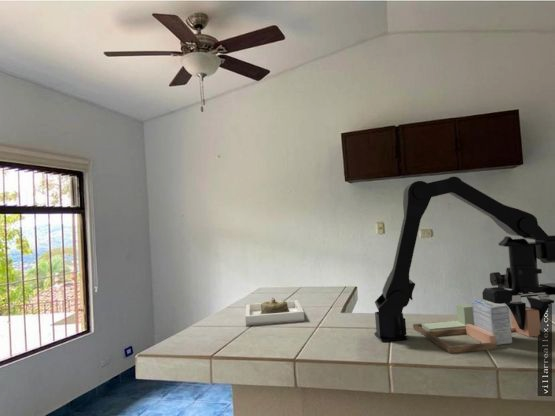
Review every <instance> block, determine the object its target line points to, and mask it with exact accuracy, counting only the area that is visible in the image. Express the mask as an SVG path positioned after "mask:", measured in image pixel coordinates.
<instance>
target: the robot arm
mask: <svg viewBox="0 0 555 416" xmlns="http://www.w3.org/2000/svg"><path fill="white" fill-rule="evenodd" d="M447 194H449V195H451V196H453V197H455V198H457V199H458V200H460V201H461V202H463V203H465V204H467V205H469V206H470V207H471V208H474V209H475V210H477V211H479V212H481V213H482V214H484V215H486V216H487V217H489V218H490V219H492V220H493V222H494V223H495V224H496V225H497V226H498V227H499V228H501V230H503V231H504V232H505V233H506V234H508V235H511V236H515V237H521V238H512V237H511V236H507V235H506V236H504V238H503V239H502V240H501V241H500V242H498V246H500V247H505V248H506V247H508V248H507V249H508V260H509V267H506V269H505V272H506V273H504V274H501V273H500V272H499V271H497V272H490V273H489V281H490V285H491V286H493V287H484V289H483V290H482V292H481V294H482V300H487V301H490V302H493V303H496V304H504V305H507V306H508V307H509V311H510V313H511V312H512V314H513V316H514V318H515V320H516V322H517V324H518V326H519V328H520V329H521V330H524V327H525V309H526V307H527V306H526V305H527V304H526V302H523V301H522V298H526V300H527V301H528V304H529V305H530V308H533V309H536V310H539V318H540V323H541V322H542V320H543V318H544V316H545V315H546V313H547V311H548V309H549V308H550V306H548V304H551V305H552V304H554V303H555V300H554V299H551V298H550V297H551V296H555V283H553V282H552V283H540V280H539V274H542V272H543V270H542V268H538V260H539V261H540V262H542V264H553V263H555V234H548V233H546V231H544V230H543V229H542V227H541V226H540V225H539V222H538V217H536V216H535V215H534V214H533V213H529V211H524V210H521V209H519V208H515V207H512V206H509V205H506V204H504V203H501V202H500V201H498V200H496V199H494V198H493V197H491V196H489V195H487V193H484V192H483V191H480V190H479V189H477V188H475V187H474V186H472V185H470V184H468V183H467V182H464V181H463V179H461V178H460V177H459V176H458V177H457V176H450V177H447V178H445V179H440V180H435V181H432V182H426V181H423V180H416V181H414V182H411V183H409V184H407V186H406V187H405V188H404V190H403V198H402V199H403V201H402V204H403V205H402V206H403V219H402V224H401V229H400V233H399V238H398V242H397V247H396V252H395V256H394V261H393V265H392V266H393V267H392V268H391V269H392V270H391V271H390V273H389V274H388V276H387V278H386V281H385V283H384V285H383V288H382V293H381V295H380V296H378V298H377V299H376V300H375V301H374V303H375V306H376V309H377V310H378V311H374V316H375V318H374V319H375V332H374V336H376V337H377V338H378V339H379V340H380V341H381V342H393V341H402V340H403V341H405V340H408V337H407V336H406V335H407V326H406V325H407V322H406V318H405V317H404V312H403V310H404V308H406V307H407V306H408V305H409V302H410V300H411V301H413V292H414V289H415V287H416V282H414V281H413V280H411V279H410V270H411V266H412V261H413V256H414V252H415V247H416V242H417V239H418V233H419V229H420V225H421V220H422V217H423V215H424V214H425V212H426V211H427V208H428V206H429V203H430V202H431V199H432V198H434V197H439V196H442V195H447ZM528 240H534V241H532V242H531V241H528ZM537 259H538V260H537ZM495 286H496V287H495Z"/></svg>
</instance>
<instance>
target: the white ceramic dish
mask: <svg viewBox="0 0 555 416" xmlns="http://www.w3.org/2000/svg"><path fill="white" fill-rule="evenodd" d="M284 301H285V302H287V304H288V305H287V306H288V309H289V312H284V313H272V314H260V313H261V304H262V303H263V302H259V303H247V304H245V305H246V306H245V307H246V308H245V319H244V320H245V326H246V327H247V326H248V327H249V326H250V327H251V326H258V325H259V326H260V325H271V324H283V323H295V322H305V311H304V310H303V308H302V306H301V304H300V302H299V300H296V299H295V300H284ZM277 302H278V303H279V302H280V301H277Z"/></svg>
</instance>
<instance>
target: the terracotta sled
mask: <svg viewBox="0 0 555 416" xmlns="http://www.w3.org/2000/svg"><path fill="white" fill-rule="evenodd" d="M510 316H511V317H510V320H511V332H515V333H516V332H517V333H519V334H521V335H524V336H526V337H528V338H532V337H533V336H534V337H539V336H538V334H539V329H541V322H540V318H539V310H536V309H533V308H531V306H530V307H529V306H526V309H525V327H524V330H521V329H520V328H519V326H518V324H517V322H516V320H515V318H514V316H513V314H512V312H511V311H510ZM466 332H467V333H466V335H467V336H469V337H472V338H473V339H474V340H477V341H479V342H481V343H491V342H495V343H496V338H495V335H493V334H491V333H489V332H486V331H484V330H482V329H480V328H478V327H476V326H474V325H472V324H466Z"/></svg>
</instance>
